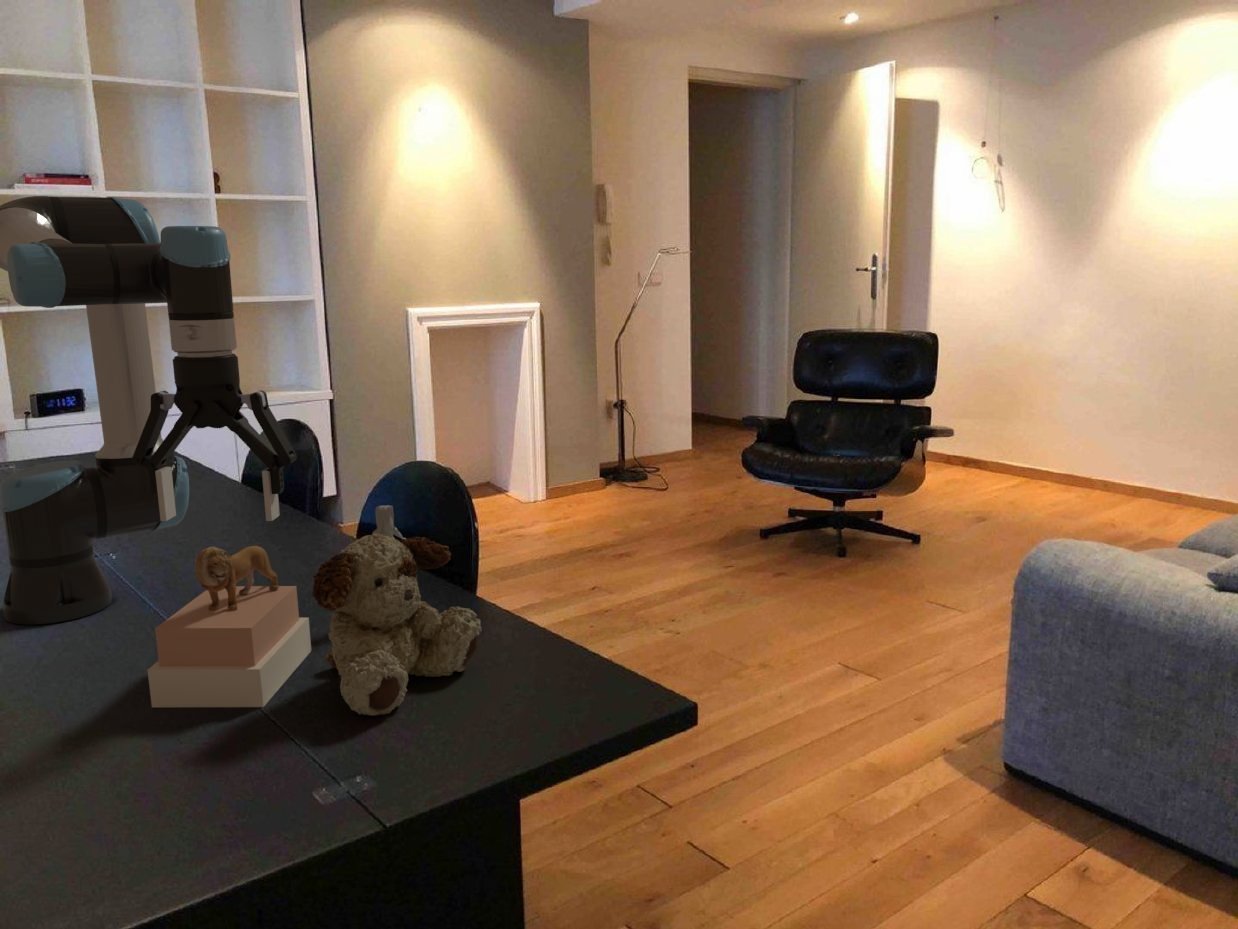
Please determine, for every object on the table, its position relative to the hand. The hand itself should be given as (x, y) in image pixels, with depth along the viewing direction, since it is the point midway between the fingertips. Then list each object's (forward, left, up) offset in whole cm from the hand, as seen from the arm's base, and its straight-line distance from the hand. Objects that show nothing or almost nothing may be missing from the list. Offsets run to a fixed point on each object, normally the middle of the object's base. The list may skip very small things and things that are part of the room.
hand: (220, 518), depth 126 cm
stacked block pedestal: (0, 0, -22) cm, 22 cm away
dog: (+20, -1, -22) cm, 30 cm away
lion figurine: (+1, +1, -12) cm, 12 cm away
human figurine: (+15, +22, -22) cm, 35 cm away
